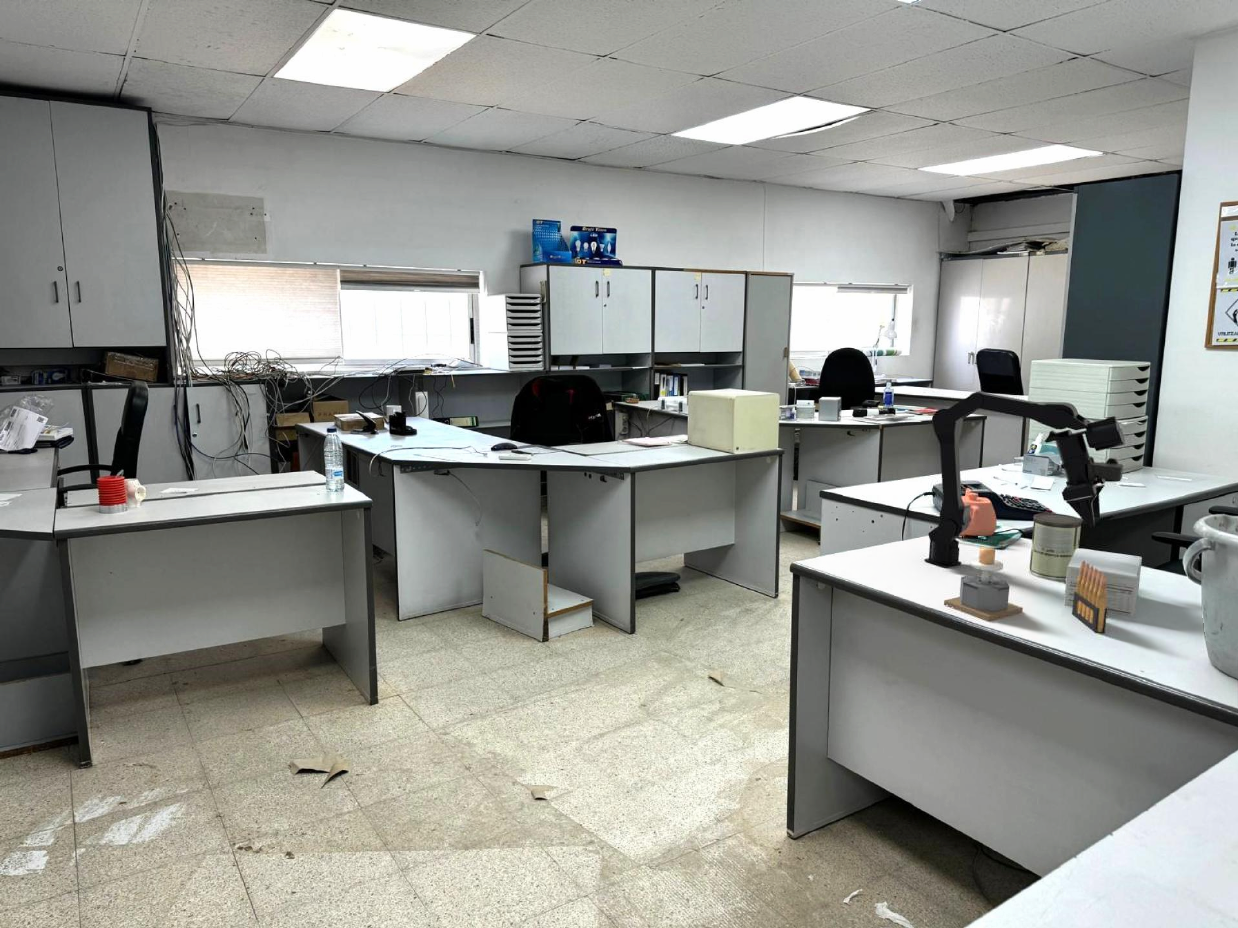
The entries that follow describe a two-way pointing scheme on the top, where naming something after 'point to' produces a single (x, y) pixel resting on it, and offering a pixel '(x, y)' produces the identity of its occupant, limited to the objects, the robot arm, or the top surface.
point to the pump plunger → (986, 563)
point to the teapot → (979, 515)
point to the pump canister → (984, 598)
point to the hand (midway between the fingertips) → (1094, 522)
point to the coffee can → (1053, 544)
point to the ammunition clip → (1091, 598)
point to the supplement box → (1108, 578)
